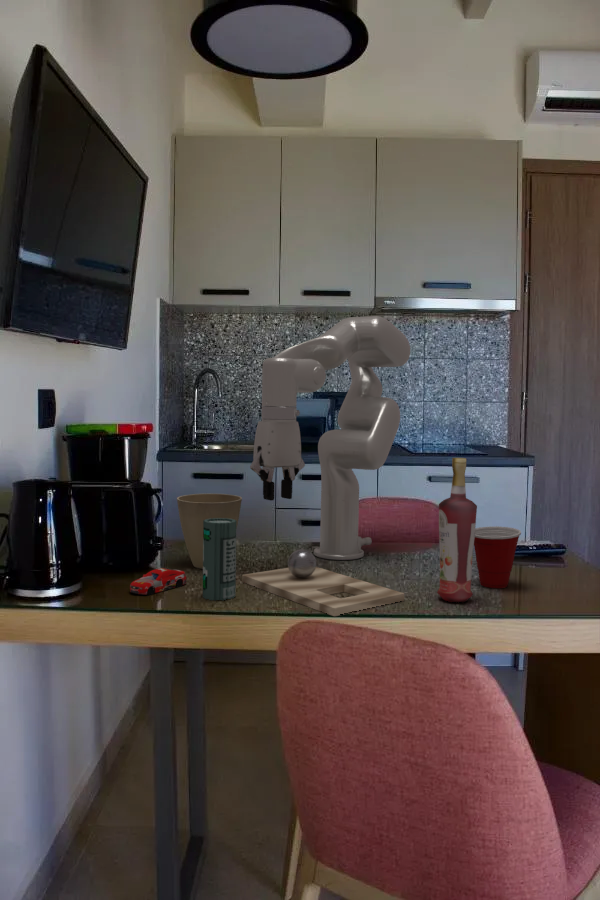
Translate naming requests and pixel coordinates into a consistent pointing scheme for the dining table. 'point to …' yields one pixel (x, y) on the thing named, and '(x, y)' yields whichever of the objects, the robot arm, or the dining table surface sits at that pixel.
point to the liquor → (456, 538)
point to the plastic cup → (495, 554)
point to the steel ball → (301, 563)
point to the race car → (158, 581)
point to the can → (219, 558)
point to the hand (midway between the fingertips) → (277, 498)
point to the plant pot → (204, 518)
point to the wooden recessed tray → (323, 590)
